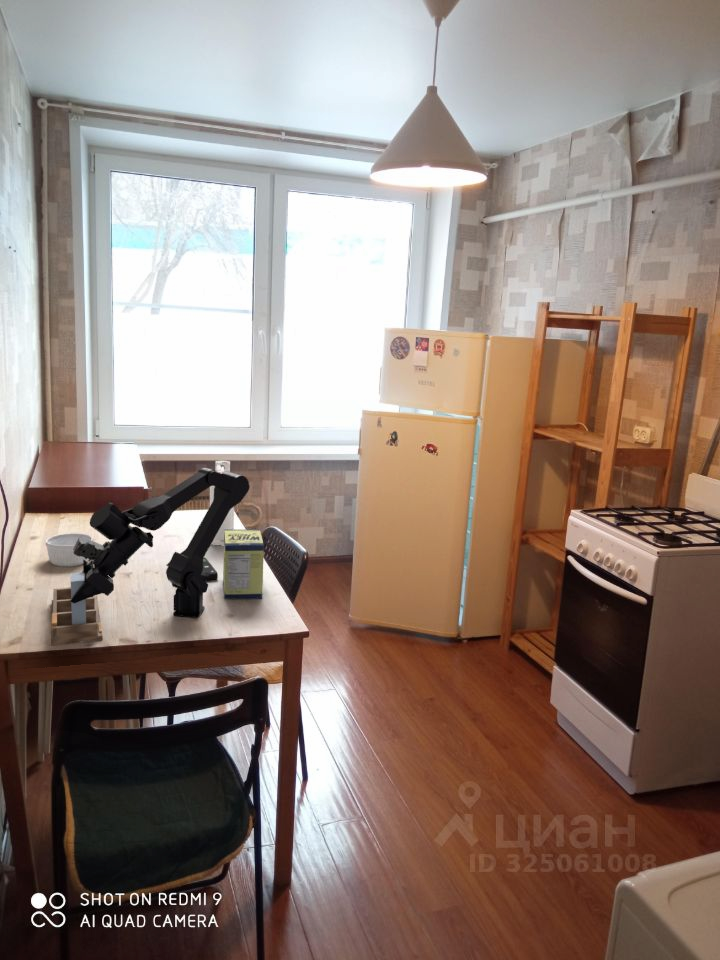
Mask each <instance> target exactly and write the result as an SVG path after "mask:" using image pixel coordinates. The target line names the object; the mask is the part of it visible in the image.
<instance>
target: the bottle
mask: <svg viewBox="0 0 720 960" xmlns="http://www.w3.org/2000/svg"><path fill="white" fill-rule="evenodd" d="M214 465H215V468H214V470H215V471H216V472H218V473H221V474H222V473H225V472H231V461H229V460H215V464H214ZM214 488H215V486H210V487H209V507H210V506H211V504H212V502H213V500H214ZM234 521H235V506H234V507H233V508H231V510H230V511H229V513H228V515H227V516H226V518H225V520H224V522H223V524H222V525H221V527H220V529H219V531H218V533H217V534H216V536H215V538H214V540H213V542H212V543H211V544H213V545H212V546H214V545H224V529H226V530H235V529H234V528H235V527H234V526H235V524H234V523H235V522H234Z"/></svg>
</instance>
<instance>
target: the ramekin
mask: <svg viewBox="0 0 720 960" xmlns="http://www.w3.org/2000/svg"><path fill="white" fill-rule="evenodd" d="M79 537H83V538H85V539H88V540H91V541H94V537H93V536H91V535H90V534H87V533H80V532H79V533H78V532H69V533H61V534H55V535H52V536H50V537H48V538H47V539H46V540H45V546H46V549H47V556H48V561H50V563H51V564H53V565H54V566H56V567H75V566H81V565H83V560H85V561H87V560H88V558H87V559H85V558H84V557H82V556H77V555H75V554H74V553H73V552H74V550H73V548H74V546H75V544H76V542H77V540H78V538H79Z"/></svg>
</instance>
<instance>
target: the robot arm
mask: <svg viewBox="0 0 720 960" xmlns="http://www.w3.org/2000/svg"><path fill="white" fill-rule="evenodd" d="M210 486H215V488H214V500H213V502H212V504H211V506H210V505H209V508H208V509H207V511H206V513H205V515H204V517H203V518H202V520H201V522H200V524H199V525H198V528H197V529H196V530H195V532H194V535H193V536H192V537H191V540H190V542H189V544H187V546H186V548H185V549H184V550H183V551H181V552H180V553H179V552H177V551H175V552H174V553H173V554H172V556H171V559H170V560H169V562H168V563H167V564H166V567H167V568H166V570H165V574H166V578H167V580H168V582H170V583H171V585H172V587H173V588H175V589H176V590H175V594H174V595H173V611H174V612H173V614H172V615H173V616H175V617H184V618H185V617H187V618H199V617H200V615H201V614H202V613H203V611H204V610H205V609H206V608H205V606H204V605H203V604H204V601H203V600H204V593H207V591H208V588H209V583H208V582H207V581H204V580H203V579H202V578H201V577H200V576H201V574H202V571H203V558H205V556H206V554H207V552H208V551H209V548H210V547H211V546H212V545H211V543H212V542H213V540H214V538H215V536H216V534H217V533H218V531H219V529H220V527H221V525H222V524H223V522H224V520H225V518H226V516H227V515H228V513H229V511H230V510H231V508H233V507H234V508H235V506H237V505H238V504H240V503H241V502H242V501H243V500H244V498H245V497H246V496H247V494H248V493H249V490H250V487H251V486H250V482H249V479H248V478H247V477H246V476H244V475H242V474H238V473H235V472H231V471H230V472H225V473H222V474H221V473H218V472H216V471H215V469H211V468H208V467H202V468H200V469H198V471H197V472H196V473H194V474H192V475H190V477H188V478H187V479H185V480H184V481H182V482H180V483H179V484H177V485H175V486H174V487H172V488H171V489H170V490H168V491H166V492H165V493H164V494H161V495H159V496H155V497H150V498H147V499H145V500H142V501H140V502H138V503H136V504H135V505H134V506H133V507H132V508H129V509H126V510H124V511H121V510H120V509H119V507H117V505H115V504H113V503H112V502H108V503H107V504H106V505H105V506H102V507H100V508H99V509H97V510H96V511H94V513H92V515H91V517H90V519H89V526H90V527H91V528H93V530H95V531H97V532H98V533H99V534H101V535H102V536H103V537H105V538H106V539H107V540H109V541H105V542H104V543H103V544H100V543H98V542H96V541H94V540H93V541H91V540H88V539H85V538H83V537H79V538H78V540H77V542H76V544H75V546H74V548H73V550H74V552H73V553H74V554H75V555H77V556H82V557H84V558H85V559H87V558H88V560H87V561H85V560H83V564H82V571H81V573H84V583H83V584H82V585H81V587H80V588H79V589H78V591H77V592H76V593H75V595H74V596H73V597H72V599H71V602H72V603H77V602H79V601H82V600H85V599H87V598H90V597H92V596H93V597H94V596H98V595H101V594H104V595H105V596H107V597H108V596H110V595H111V593H112V592H114V591H115V584H114V583H115V582H114V579H113V578H115V577H116V572H117V571H118V570H119V569H120V568H121V567H122V566H126V565H128V564H129V561H128V560H129V559H130V558H131V557H132V556H133V555H134V554H135V553H137V552H138V551H139V550H140V549H141V547H142V546H144V544H145V545H147V546H149V547H150V548H153V547H154V535H153V534H152V533H151V532H150V531H157V530H159V529H161V528H162V527H163V526H164V525H165V524H166V523H167V522H169V520H170V519H171V518H172V515H173V513H174V512H175V511H176V510H177V509H179V508H181V507H182V506H183V505H185V504H186V503H188V502H190V501H191V500H193V499H194V498H196V497H197V496H198V495H200V494H202V493H203V492H204V491H205V490H207V489H210ZM130 524H131V525H133V526H131V525H130ZM141 528H143V529H146V530H148V532H146V531H144V530H142V529H141ZM70 592H71V590H70Z"/></svg>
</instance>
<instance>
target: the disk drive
mask: <svg viewBox="0 0 720 960" xmlns="http://www.w3.org/2000/svg"><path fill="white" fill-rule="evenodd" d="M218 573H219V572H218V571H217V570H216V569H215V568H214V567H213V565H212V564H211V562H209V560H208V559H207V557H204V558H203V571H202V574H201V576H200V577H201V578H202V579H203V580H204V581H205V582H210V581H211V582H212V581H218V577H219V576H218Z"/></svg>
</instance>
